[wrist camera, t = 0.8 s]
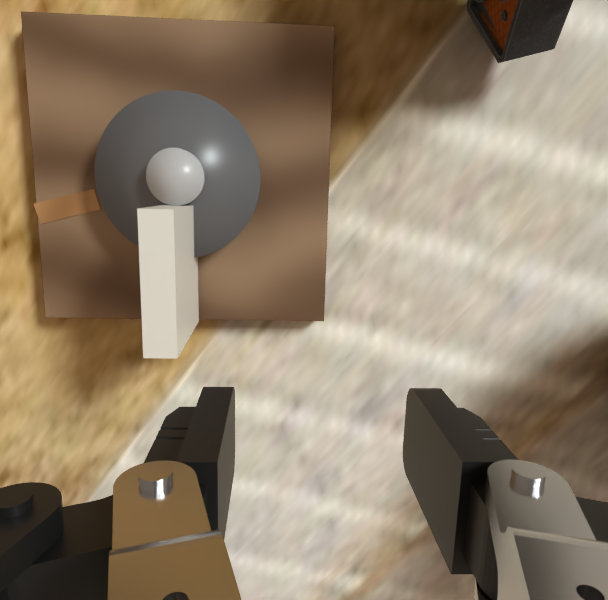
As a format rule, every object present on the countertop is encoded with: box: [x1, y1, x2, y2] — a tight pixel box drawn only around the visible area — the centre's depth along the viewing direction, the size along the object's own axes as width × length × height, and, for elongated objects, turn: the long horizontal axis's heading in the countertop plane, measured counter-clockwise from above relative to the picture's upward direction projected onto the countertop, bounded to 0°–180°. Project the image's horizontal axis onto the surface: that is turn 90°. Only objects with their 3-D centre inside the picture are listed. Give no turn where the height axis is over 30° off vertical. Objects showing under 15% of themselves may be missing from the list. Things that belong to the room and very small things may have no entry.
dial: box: [94, 90, 261, 358], centre depth 27 cm, size 13×9×7 cm
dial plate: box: [21, 12, 335, 321], centre depth 31 cm, size 17×17×2 cm
